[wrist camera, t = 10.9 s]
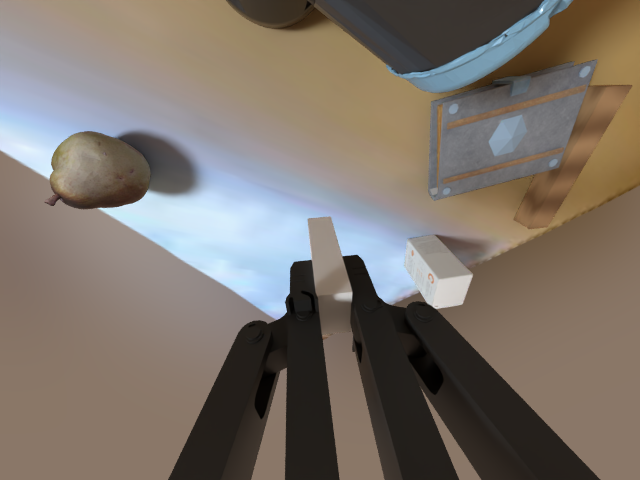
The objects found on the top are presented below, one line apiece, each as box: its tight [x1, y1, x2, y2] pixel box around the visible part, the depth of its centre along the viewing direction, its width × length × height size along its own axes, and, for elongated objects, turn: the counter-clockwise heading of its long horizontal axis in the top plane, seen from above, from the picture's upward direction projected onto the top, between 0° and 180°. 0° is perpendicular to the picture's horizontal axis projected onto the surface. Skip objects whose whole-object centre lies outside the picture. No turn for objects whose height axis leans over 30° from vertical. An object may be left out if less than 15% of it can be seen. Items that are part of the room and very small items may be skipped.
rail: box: [514, 85, 632, 229], centre depth 41 cm, size 24×4×4 cm, turn 3°
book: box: [428, 60, 597, 201], centre depth 37 cm, size 21×16×5 cm
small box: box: [404, 235, 473, 309], centre depth 47 cm, size 8×6×13 cm
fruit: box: [45, 131, 151, 209], centre depth 31 cm, size 10×9×12 cm
